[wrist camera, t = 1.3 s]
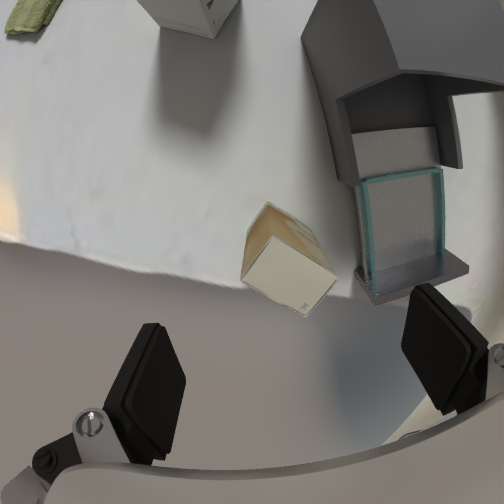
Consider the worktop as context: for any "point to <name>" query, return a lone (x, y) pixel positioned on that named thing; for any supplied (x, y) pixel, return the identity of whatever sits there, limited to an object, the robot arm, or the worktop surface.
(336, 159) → the housing
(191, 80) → the worktop surface
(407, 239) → the tray
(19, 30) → the washcloth
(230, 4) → the supplement box
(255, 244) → the skincare box
